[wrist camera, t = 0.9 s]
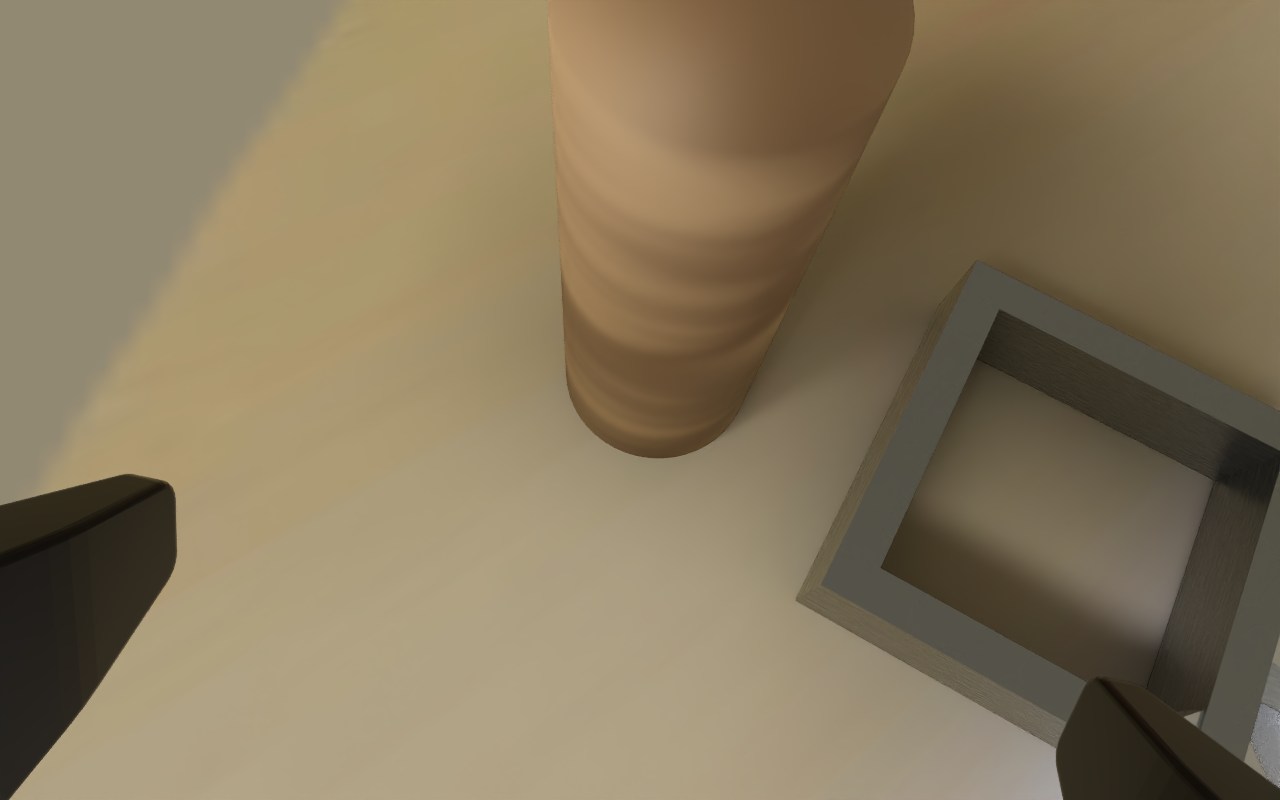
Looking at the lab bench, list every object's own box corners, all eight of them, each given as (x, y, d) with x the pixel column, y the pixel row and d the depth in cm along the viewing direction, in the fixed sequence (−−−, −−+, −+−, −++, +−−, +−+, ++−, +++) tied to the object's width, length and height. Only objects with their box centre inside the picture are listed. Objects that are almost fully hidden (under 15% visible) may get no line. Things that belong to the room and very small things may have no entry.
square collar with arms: (1453, 1257, 18) (1582, 1336, 16) (697, 800, 20) (712, 809, 18) (1559, 619, 23) (1671, 606, 20) (940, 304, 25) (977, 260, 23)
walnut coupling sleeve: (613, 488, 23) (646, 204, 10) (537, 330, 24) (488, -82, 12) (777, 414, 24) (984, 75, 11) (695, 266, 25) (802, -177, 13)
